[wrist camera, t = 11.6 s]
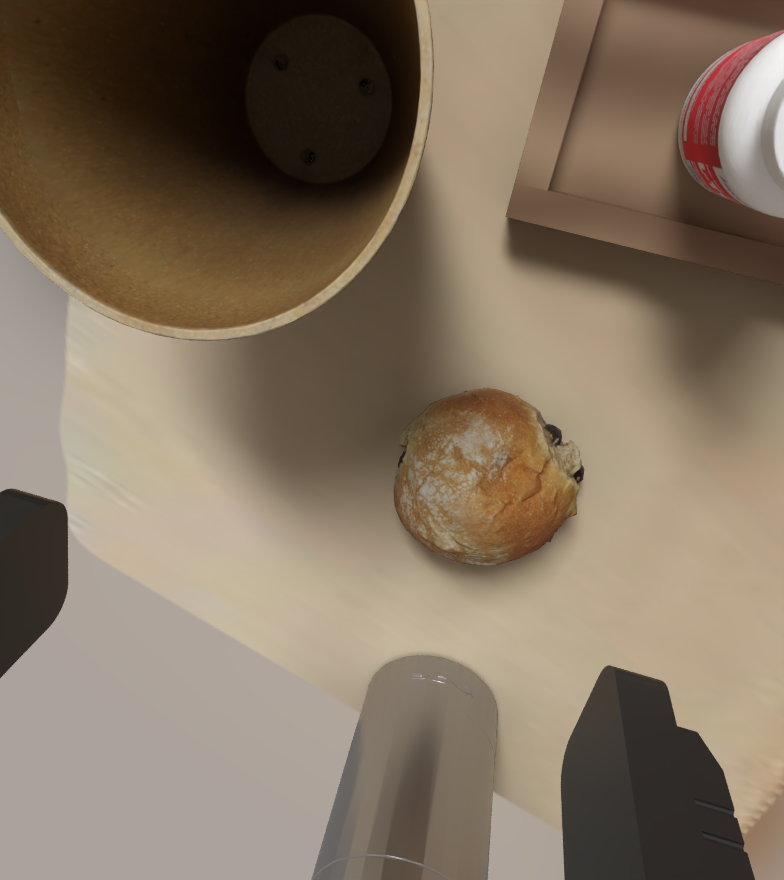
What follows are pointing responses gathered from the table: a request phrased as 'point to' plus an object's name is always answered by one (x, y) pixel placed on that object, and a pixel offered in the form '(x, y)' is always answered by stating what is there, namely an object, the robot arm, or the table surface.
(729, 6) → the shallow rectangular tray
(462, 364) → the table surface
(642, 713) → the robot arm
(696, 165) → the pill bottle
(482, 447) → the bread roll
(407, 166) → the plant pot
